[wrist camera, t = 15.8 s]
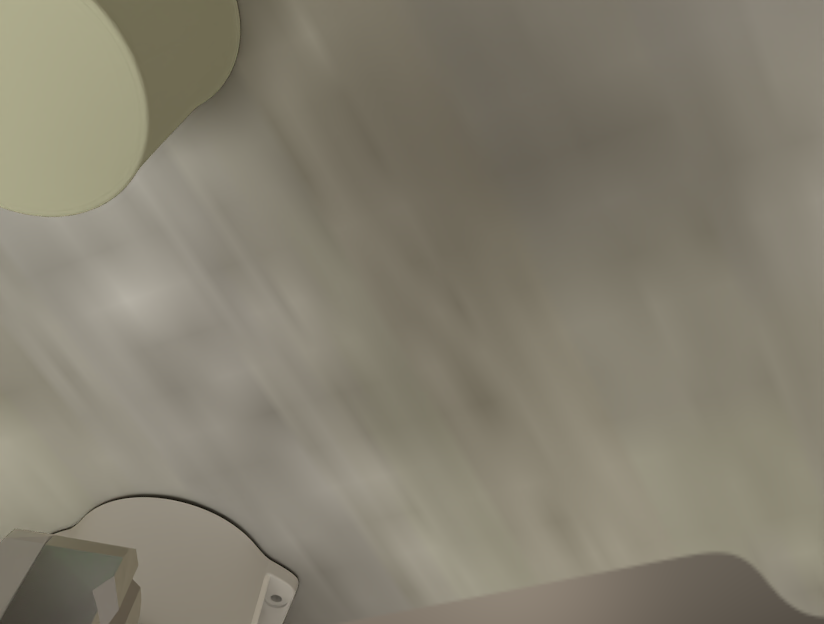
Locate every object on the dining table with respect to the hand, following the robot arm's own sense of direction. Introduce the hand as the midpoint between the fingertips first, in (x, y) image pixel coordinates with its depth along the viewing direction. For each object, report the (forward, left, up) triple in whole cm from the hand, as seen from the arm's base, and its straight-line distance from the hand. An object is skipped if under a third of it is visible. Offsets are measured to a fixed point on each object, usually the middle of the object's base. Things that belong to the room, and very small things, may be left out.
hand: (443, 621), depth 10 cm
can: (-1, +15, -29) cm, 33 cm away
